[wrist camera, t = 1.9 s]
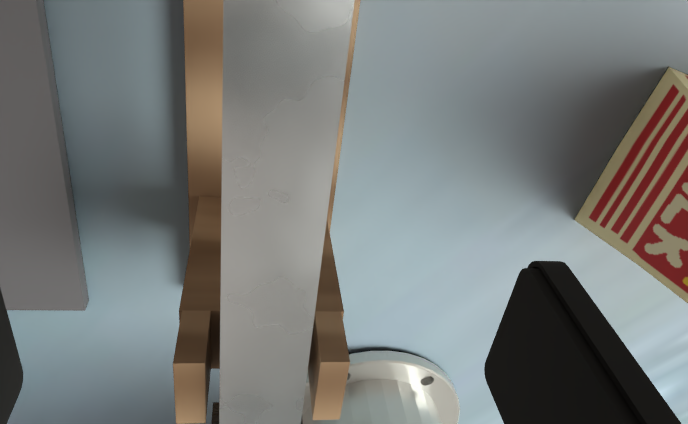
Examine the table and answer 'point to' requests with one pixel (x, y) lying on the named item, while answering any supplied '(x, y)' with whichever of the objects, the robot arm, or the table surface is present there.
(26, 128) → the mat
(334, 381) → the rack
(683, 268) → the milk carton
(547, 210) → the table surface
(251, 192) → the rail
